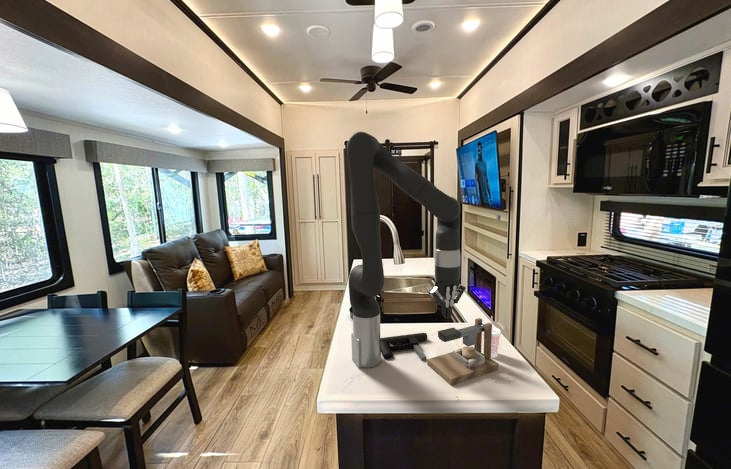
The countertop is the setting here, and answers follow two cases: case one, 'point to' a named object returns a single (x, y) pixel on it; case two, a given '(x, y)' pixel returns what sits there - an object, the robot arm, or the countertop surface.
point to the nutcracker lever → (461, 334)
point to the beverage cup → (494, 340)
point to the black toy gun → (410, 339)
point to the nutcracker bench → (462, 369)
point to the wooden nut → (468, 353)
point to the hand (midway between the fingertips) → (447, 317)
